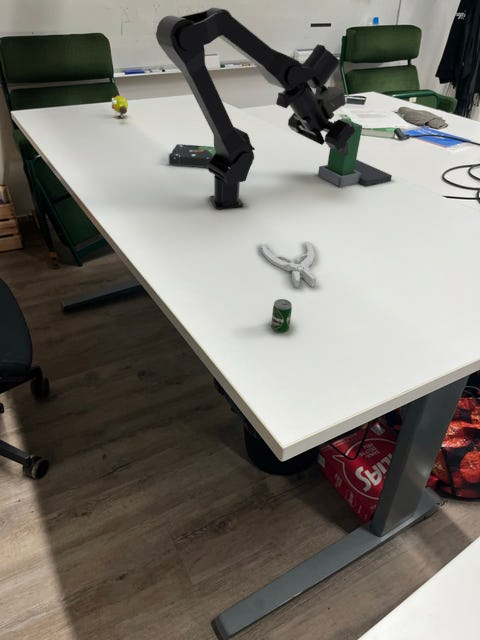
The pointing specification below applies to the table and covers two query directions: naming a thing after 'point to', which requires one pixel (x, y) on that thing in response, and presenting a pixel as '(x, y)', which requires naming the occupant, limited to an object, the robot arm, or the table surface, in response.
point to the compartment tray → (356, 175)
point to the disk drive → (191, 155)
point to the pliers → (294, 265)
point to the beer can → (281, 315)
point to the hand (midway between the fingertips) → (334, 148)
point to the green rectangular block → (345, 163)
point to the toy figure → (119, 105)
